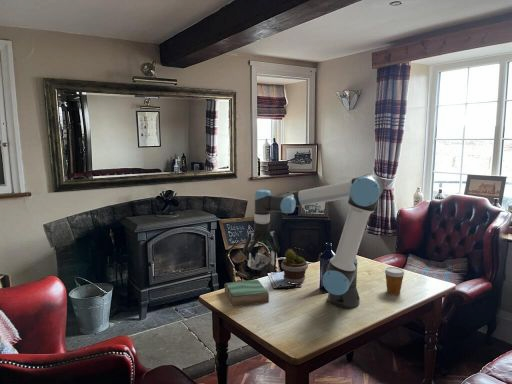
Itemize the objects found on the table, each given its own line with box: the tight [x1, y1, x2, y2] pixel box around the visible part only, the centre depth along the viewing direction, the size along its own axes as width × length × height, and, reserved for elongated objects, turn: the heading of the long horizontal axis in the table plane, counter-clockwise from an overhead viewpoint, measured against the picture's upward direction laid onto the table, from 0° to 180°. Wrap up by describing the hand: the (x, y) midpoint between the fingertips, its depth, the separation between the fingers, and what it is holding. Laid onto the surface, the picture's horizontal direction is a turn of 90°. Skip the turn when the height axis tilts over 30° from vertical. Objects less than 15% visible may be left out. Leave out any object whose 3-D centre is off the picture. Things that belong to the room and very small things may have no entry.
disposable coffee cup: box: [384, 266, 405, 296], centre depth 194 cm, size 10×10×12 cm
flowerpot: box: [280, 248, 309, 285], centre depth 208 cm, size 14×15×20 cm
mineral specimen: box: [250, 252, 272, 270], centre depth 184 cm, size 10×8×10 cm
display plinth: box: [224, 278, 270, 308], centre depth 189 cm, size 18×18×5 cm
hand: (261, 265), depth 186 cm, fingers closed on mineral specimen, 11 cm apart
